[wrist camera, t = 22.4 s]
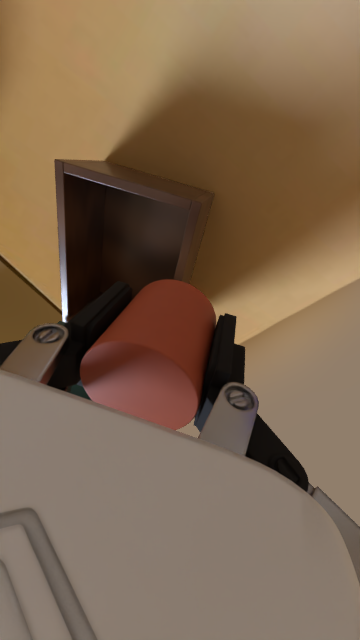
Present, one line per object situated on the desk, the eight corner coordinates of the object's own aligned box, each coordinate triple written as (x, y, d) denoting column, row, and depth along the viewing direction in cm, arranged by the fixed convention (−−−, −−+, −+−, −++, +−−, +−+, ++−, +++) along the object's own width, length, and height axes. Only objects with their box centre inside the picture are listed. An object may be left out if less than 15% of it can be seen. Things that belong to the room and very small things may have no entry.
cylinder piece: (119, 318, 14) (62, 385, 9) (163, 259, 11) (112, 314, 7) (181, 365, 14) (153, 446, 10) (235, 318, 12) (227, 400, 8)
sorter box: (103, 160, 27) (54, 159, 20) (214, 193, 26) (201, 203, 19) (97, 292, 36) (62, 321, 29) (179, 319, 35) (162, 356, 28)
